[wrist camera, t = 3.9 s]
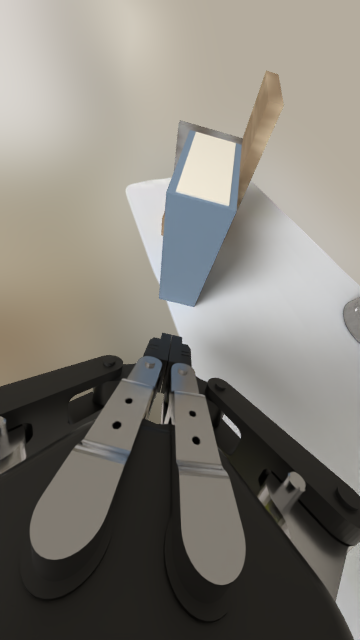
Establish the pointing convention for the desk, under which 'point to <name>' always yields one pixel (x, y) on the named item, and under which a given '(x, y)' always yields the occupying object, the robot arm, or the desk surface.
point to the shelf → (255, 134)
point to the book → (197, 214)
